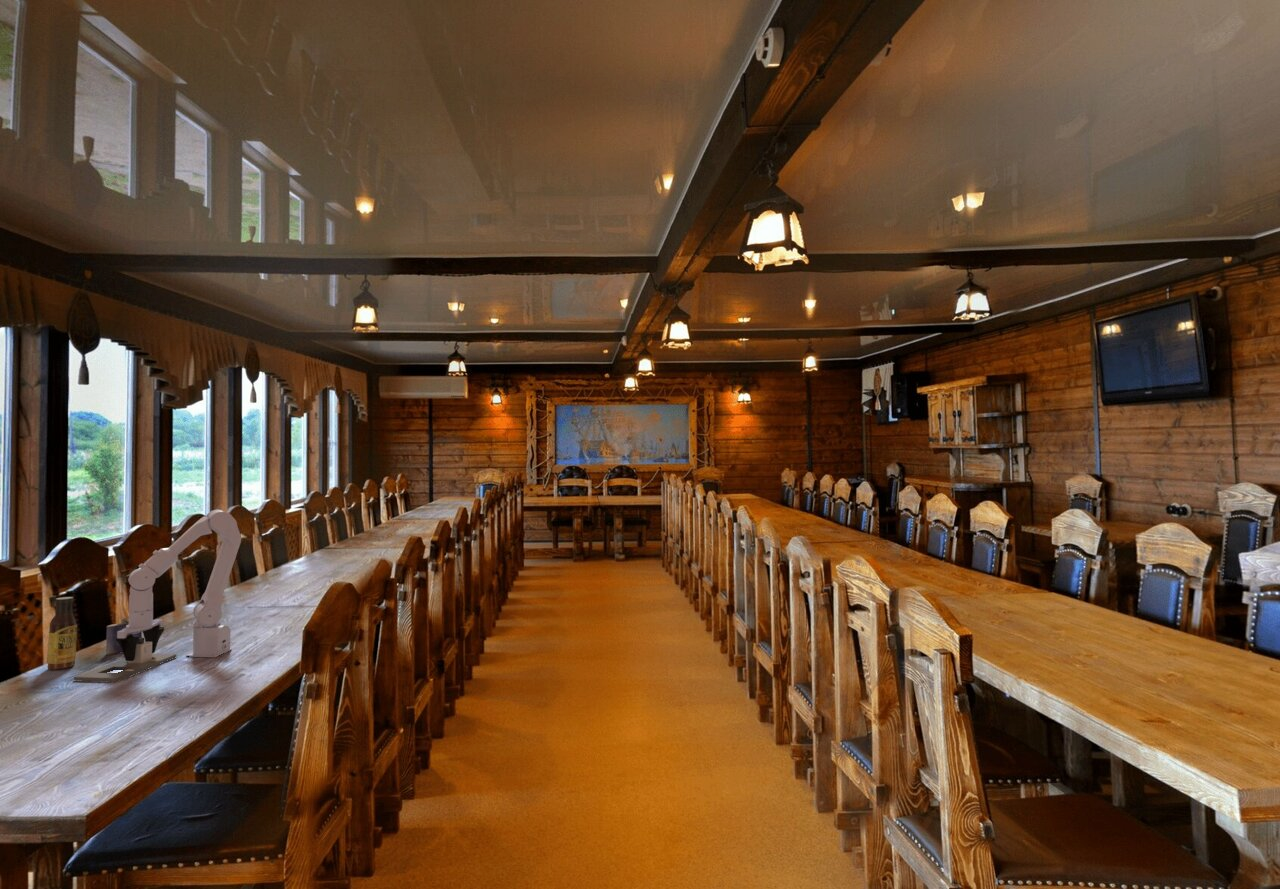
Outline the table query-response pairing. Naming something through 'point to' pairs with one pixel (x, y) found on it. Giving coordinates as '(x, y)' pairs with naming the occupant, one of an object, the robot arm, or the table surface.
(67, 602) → the sauce bottle
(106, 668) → the panel
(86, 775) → the table surface
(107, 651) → the flask
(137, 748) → the table surface
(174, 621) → the table surface
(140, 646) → the plug
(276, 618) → the table surface
